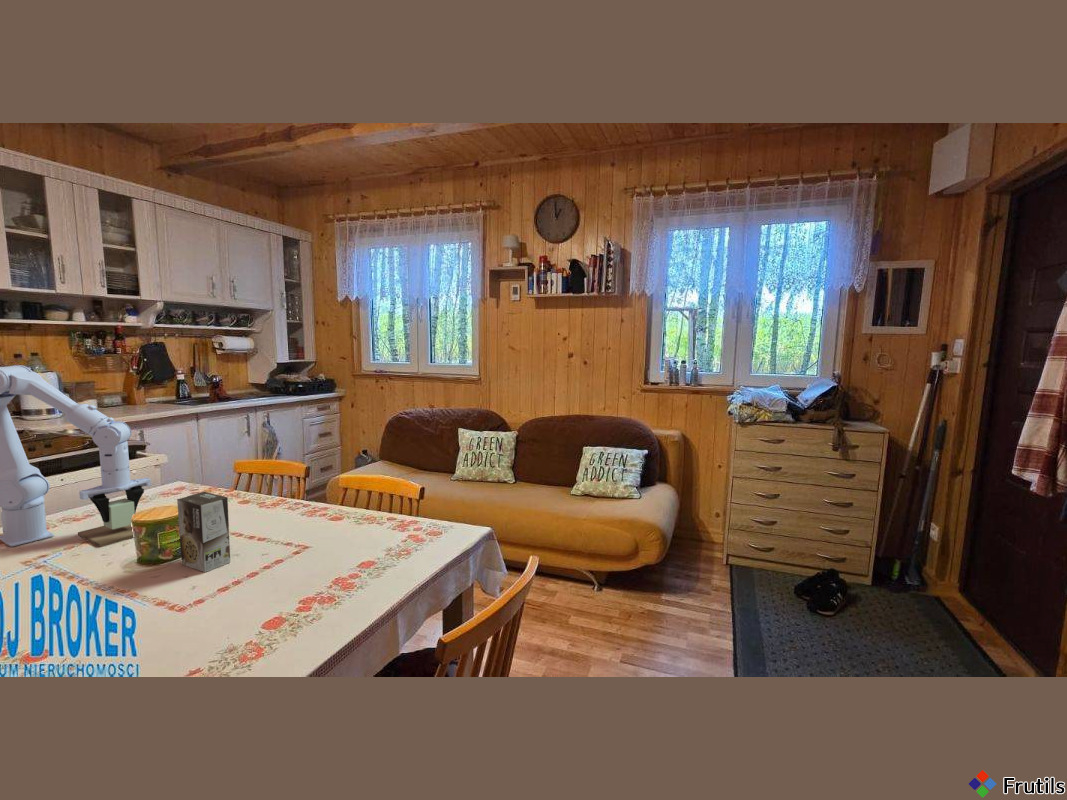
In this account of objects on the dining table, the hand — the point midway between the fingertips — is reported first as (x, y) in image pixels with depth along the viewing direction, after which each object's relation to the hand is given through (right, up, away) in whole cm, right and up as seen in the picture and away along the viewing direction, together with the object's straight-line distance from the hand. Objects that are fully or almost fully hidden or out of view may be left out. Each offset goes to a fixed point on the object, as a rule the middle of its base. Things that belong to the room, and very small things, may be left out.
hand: (119, 518), depth 128 cm
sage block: (0, -2, 0) cm, 2 cm away
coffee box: (+33, -7, -14) cm, 36 cm away
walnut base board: (0, -4, 0) cm, 4 cm away
